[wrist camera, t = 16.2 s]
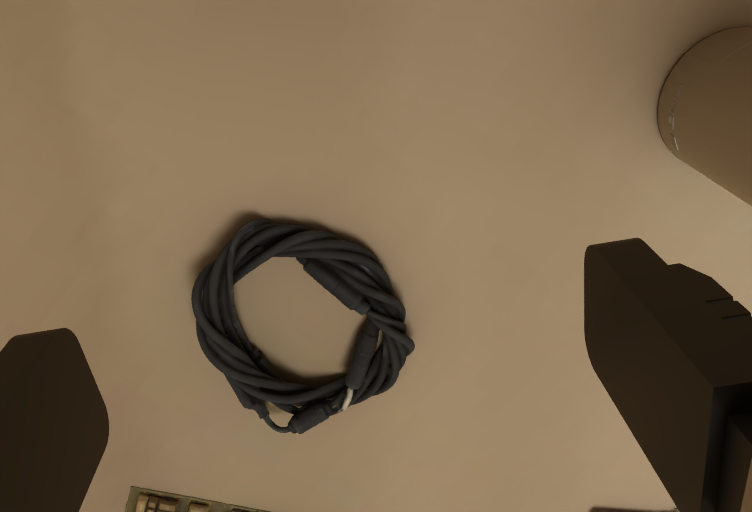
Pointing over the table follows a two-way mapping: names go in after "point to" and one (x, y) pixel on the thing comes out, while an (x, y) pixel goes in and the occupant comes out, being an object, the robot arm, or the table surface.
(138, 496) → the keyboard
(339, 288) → the cable
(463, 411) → the table surface
